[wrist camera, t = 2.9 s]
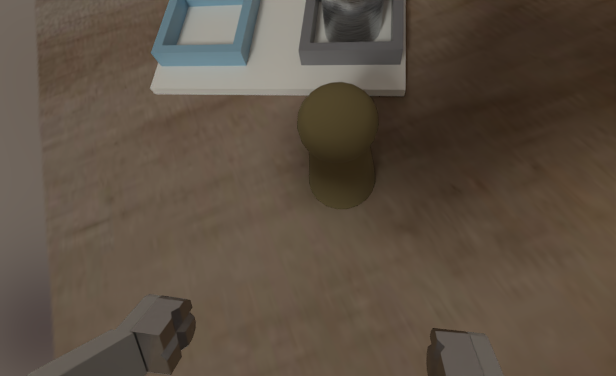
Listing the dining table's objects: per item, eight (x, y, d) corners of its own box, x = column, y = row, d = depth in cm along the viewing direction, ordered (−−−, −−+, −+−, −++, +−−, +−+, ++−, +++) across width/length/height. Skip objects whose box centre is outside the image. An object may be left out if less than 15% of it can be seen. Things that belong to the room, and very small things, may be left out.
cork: (305, 154, 30) (281, 76, 20) (368, 143, 30) (376, 57, 20) (313, 214, 28) (291, 160, 18) (381, 203, 28) (398, 142, 17)
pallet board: (404, -19, 37) (408, -46, 34) (404, 96, 31) (409, 75, 28) (188, -9, 41) (176, -32, 38) (155, 94, 35) (138, 75, 33)
